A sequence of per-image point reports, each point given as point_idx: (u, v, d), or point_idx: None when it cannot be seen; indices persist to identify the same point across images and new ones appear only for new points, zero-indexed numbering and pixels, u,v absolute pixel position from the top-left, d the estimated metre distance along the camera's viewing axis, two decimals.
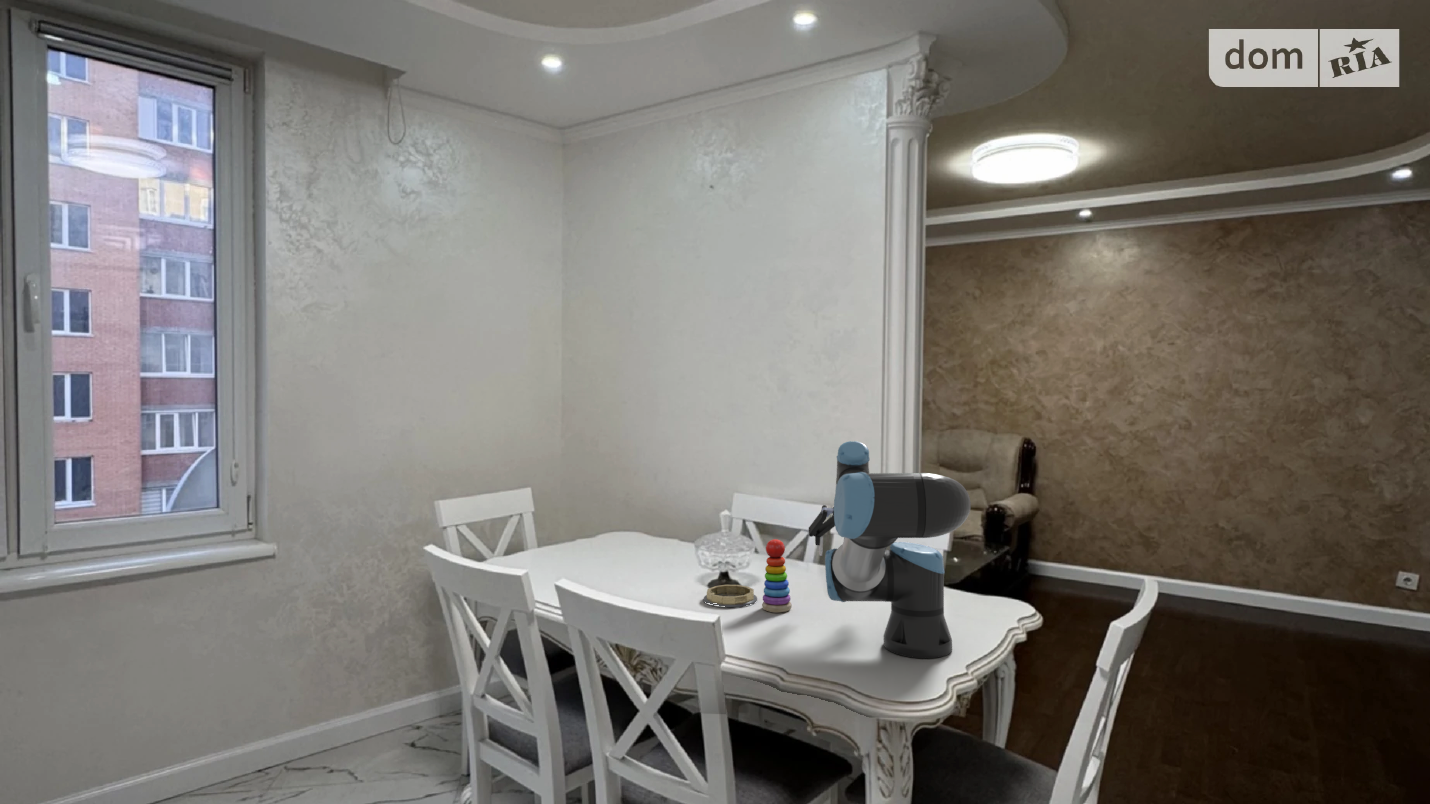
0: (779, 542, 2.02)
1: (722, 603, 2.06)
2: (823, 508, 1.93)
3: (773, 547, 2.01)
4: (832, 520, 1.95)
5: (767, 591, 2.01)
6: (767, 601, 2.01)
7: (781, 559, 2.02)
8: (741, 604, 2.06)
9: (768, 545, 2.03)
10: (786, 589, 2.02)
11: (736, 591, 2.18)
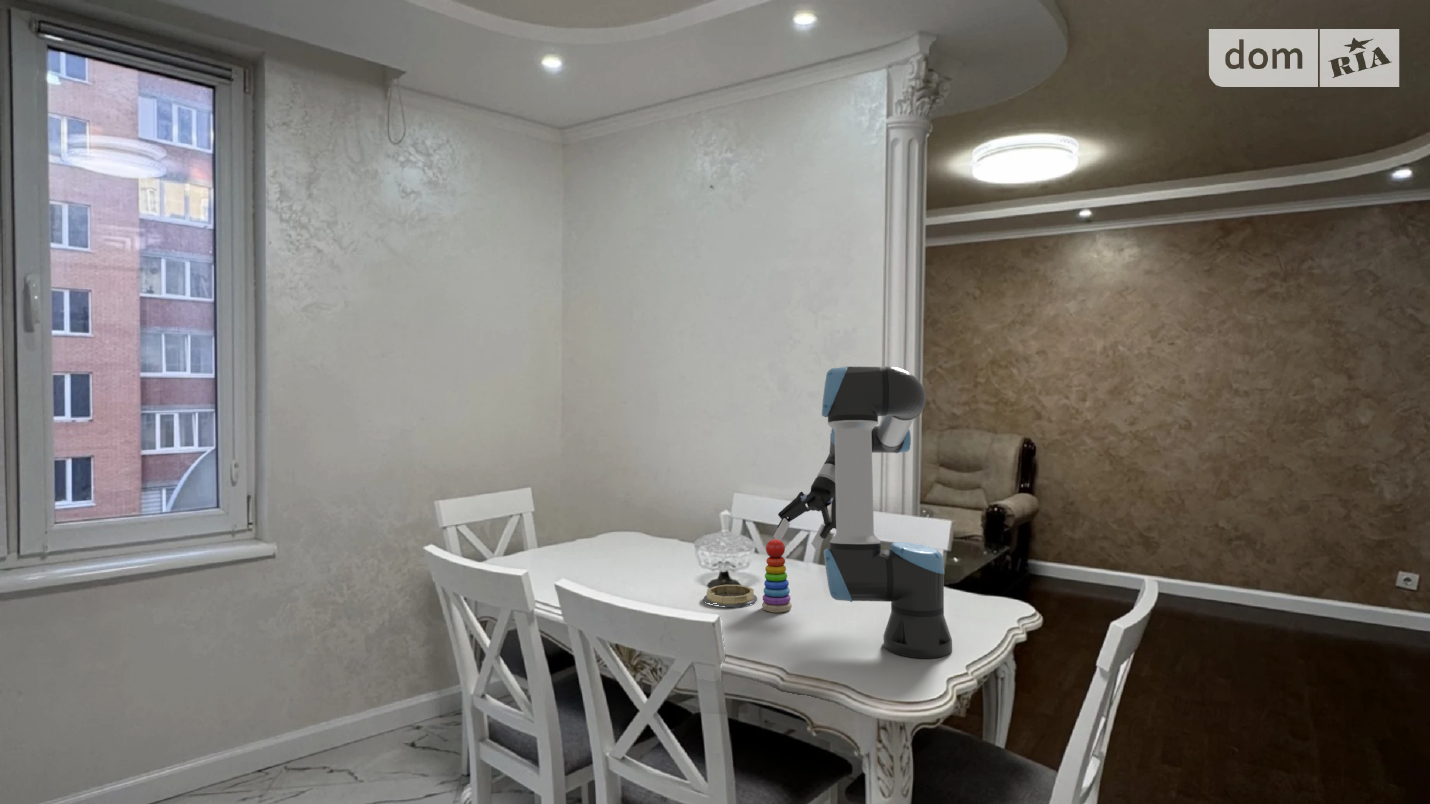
0: (779, 542, 2.02)
1: (722, 603, 2.06)
2: None
3: (773, 547, 2.01)
4: None
5: (767, 591, 2.01)
6: (767, 601, 2.01)
7: (781, 559, 2.02)
8: (741, 604, 2.06)
9: (768, 545, 2.03)
10: (786, 589, 2.02)
11: (736, 591, 2.18)
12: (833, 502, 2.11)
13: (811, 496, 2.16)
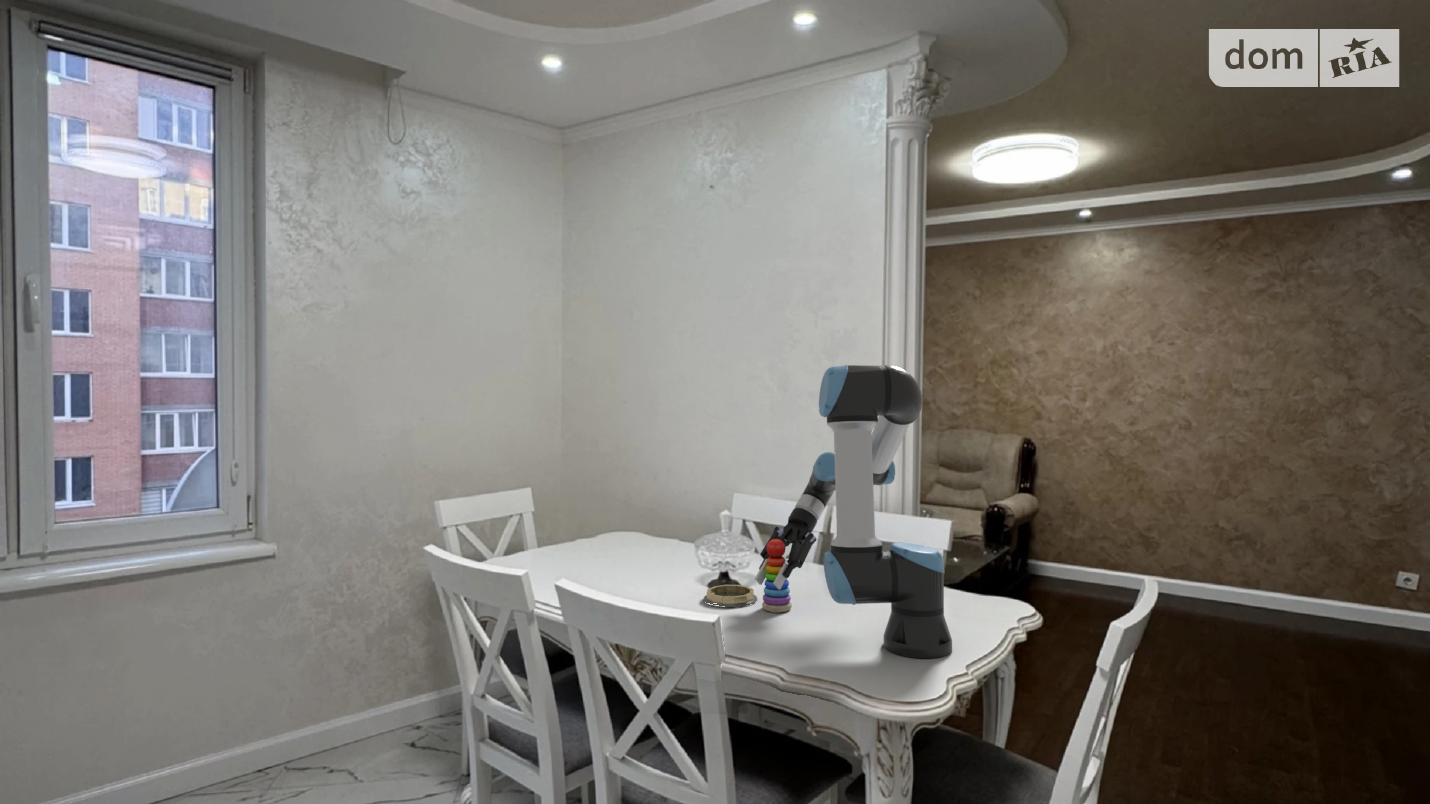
0: (780, 542, 2.02)
1: (722, 603, 2.06)
2: None
3: (773, 547, 2.01)
4: None
5: (768, 591, 2.01)
6: (767, 601, 2.01)
7: (781, 559, 2.02)
8: (741, 604, 2.06)
9: (769, 545, 2.02)
10: (786, 589, 2.02)
11: (736, 591, 2.18)
12: (806, 539, 2.04)
13: (788, 528, 2.09)
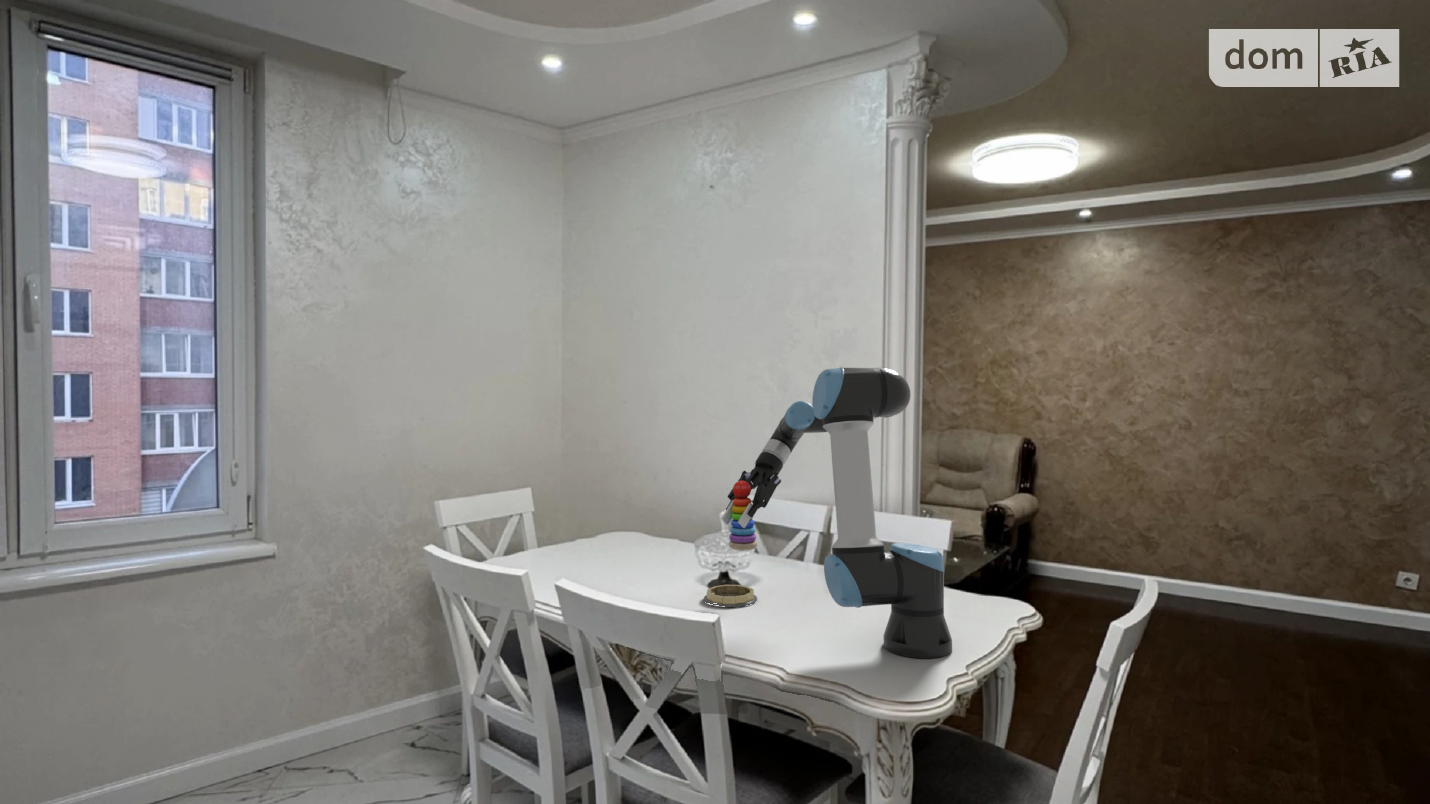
0: (745, 483, 2.10)
1: (722, 603, 2.06)
2: None
3: (739, 487, 2.09)
4: None
5: (733, 530, 2.09)
6: (733, 539, 2.08)
7: (746, 499, 2.09)
8: (741, 604, 2.06)
9: (735, 486, 2.10)
10: (752, 528, 2.09)
11: (736, 591, 2.18)
12: (771, 480, 2.11)
13: (755, 471, 2.16)
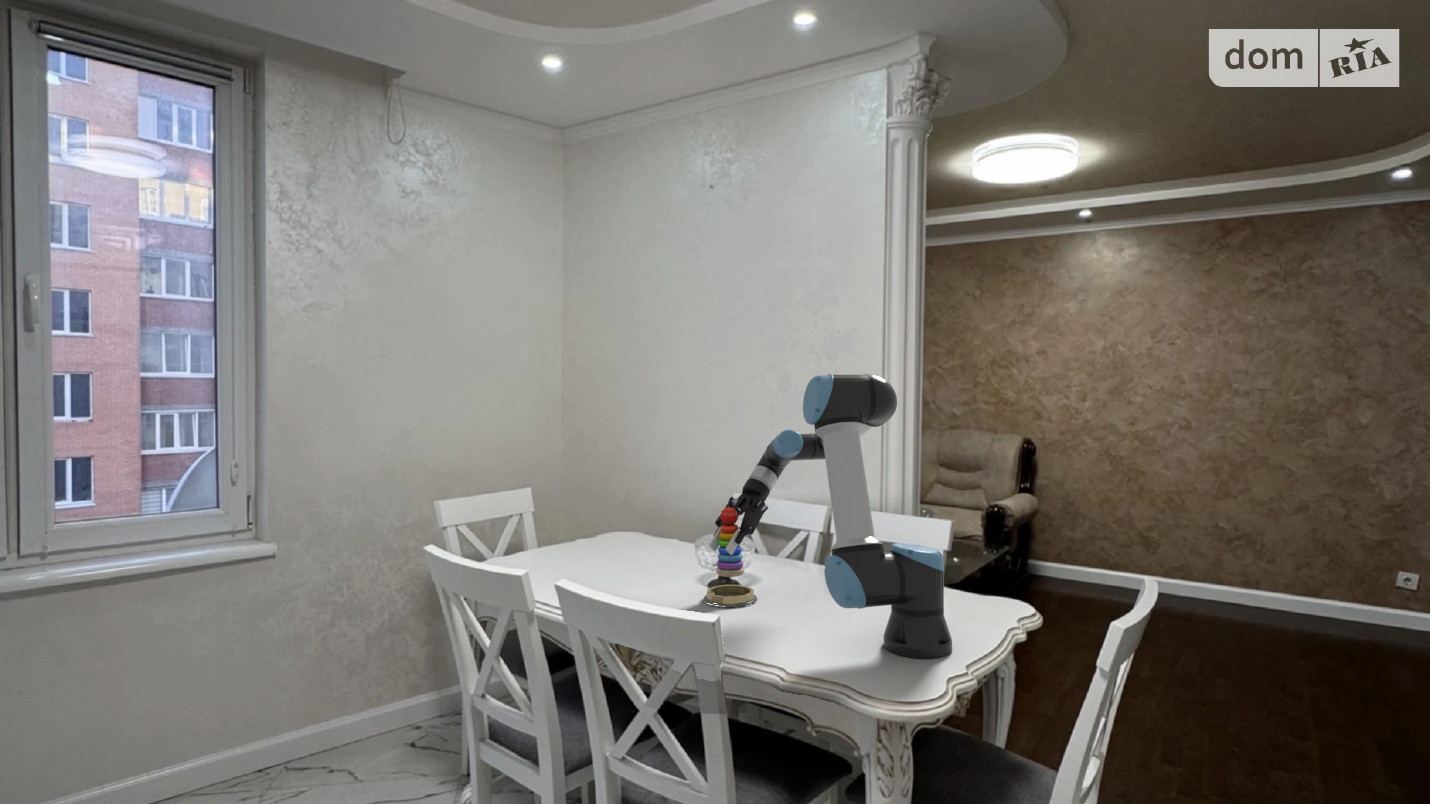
0: (732, 510, 2.11)
1: (722, 603, 2.06)
2: None
3: (726, 514, 2.10)
4: None
5: (721, 556, 2.11)
6: (720, 566, 2.10)
7: (734, 526, 2.11)
8: (741, 604, 2.06)
9: (722, 513, 2.12)
10: (739, 555, 2.11)
11: (736, 591, 2.18)
12: (758, 507, 2.13)
13: (742, 498, 2.18)
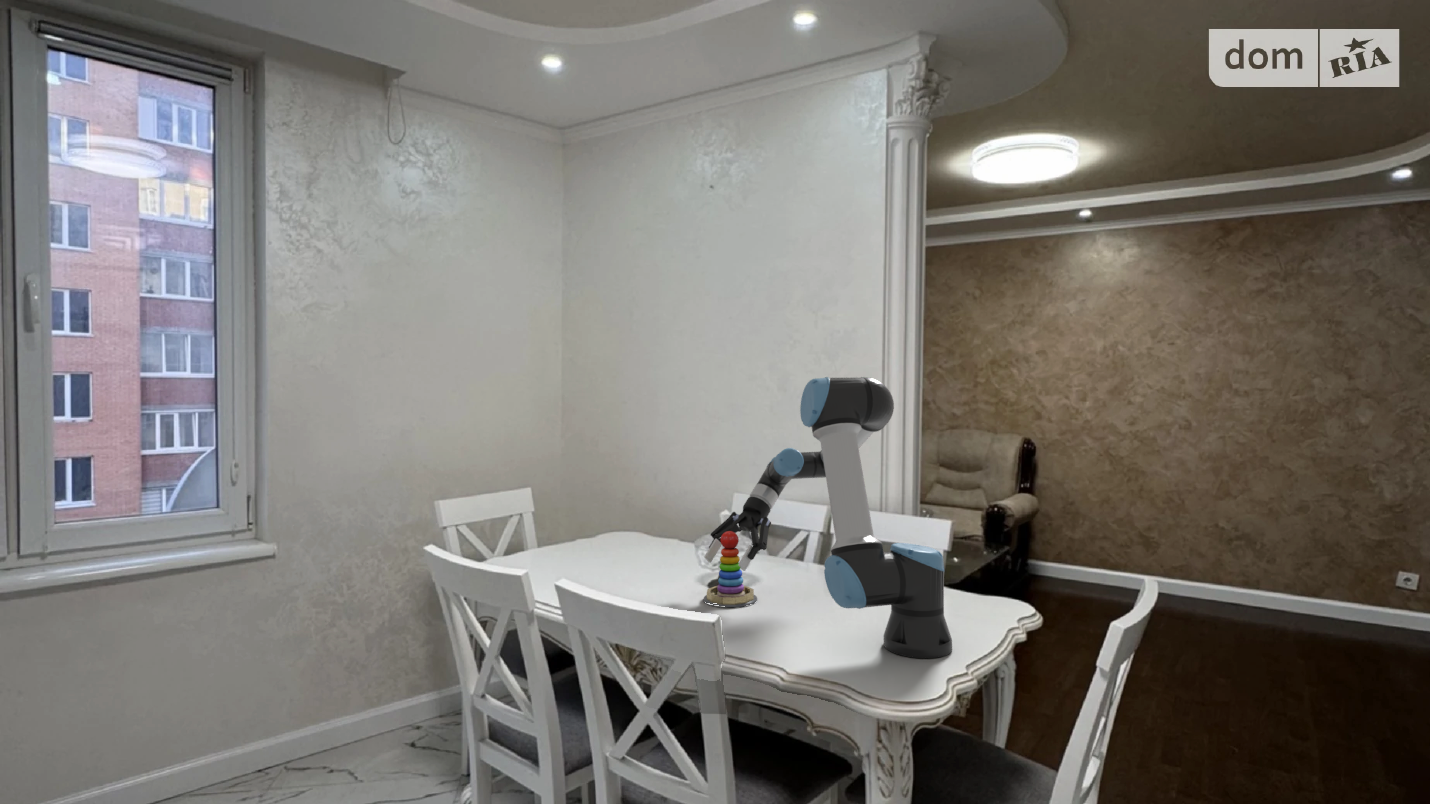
0: (733, 534, 2.11)
1: (722, 603, 2.06)
2: None
3: (727, 538, 2.10)
4: None
5: (721, 580, 2.10)
6: (721, 590, 2.10)
7: (734, 550, 2.11)
8: (741, 604, 2.06)
9: (722, 537, 2.11)
10: (739, 579, 2.11)
11: None
12: (762, 523, 2.12)
13: (742, 516, 2.18)
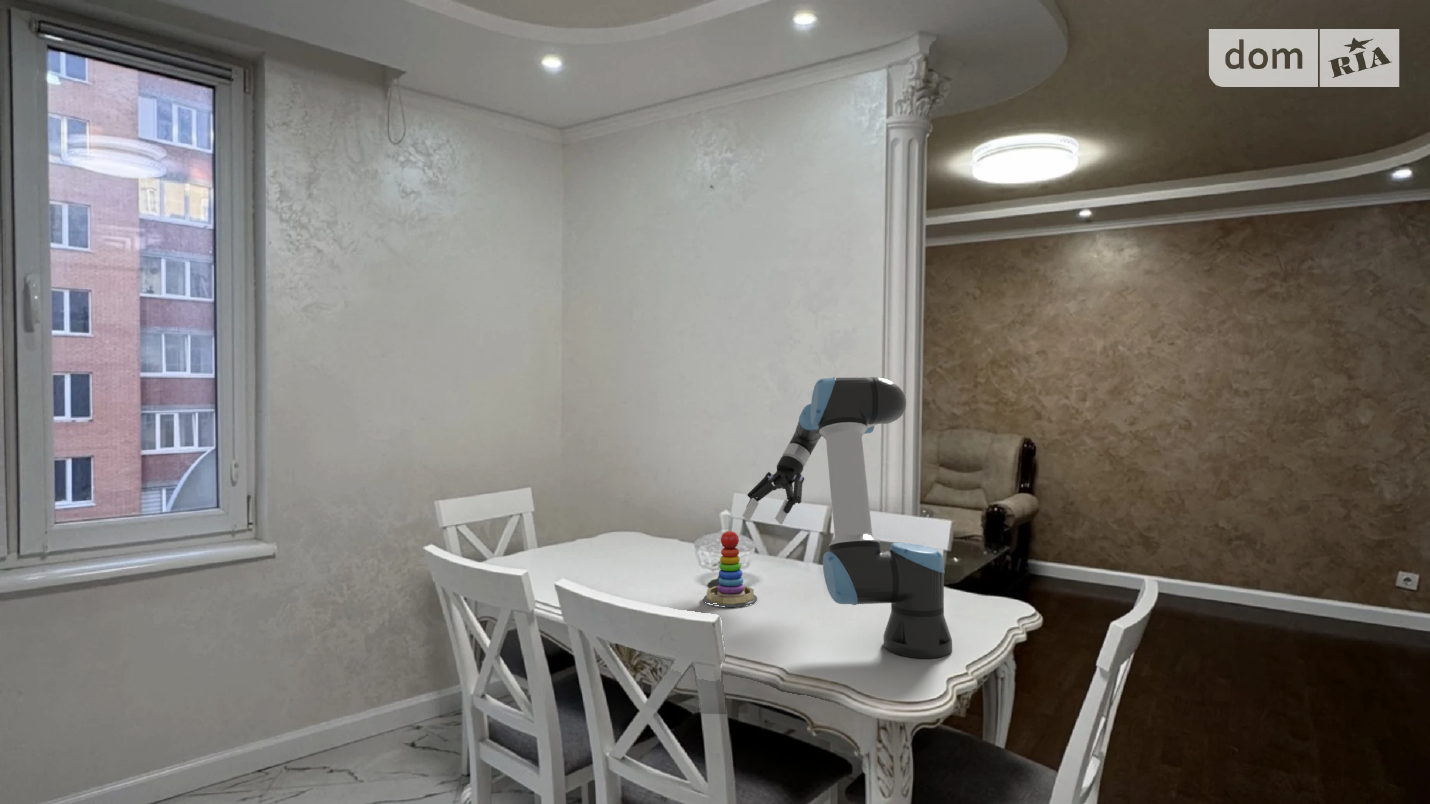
0: (733, 534, 2.11)
1: (722, 603, 2.06)
2: None
3: (727, 538, 2.10)
4: None
5: (721, 580, 2.10)
6: (721, 590, 2.10)
7: (734, 550, 2.11)
8: (741, 604, 2.06)
9: (722, 537, 2.11)
10: (739, 579, 2.11)
11: None
12: (796, 478, 2.20)
13: (776, 475, 2.26)
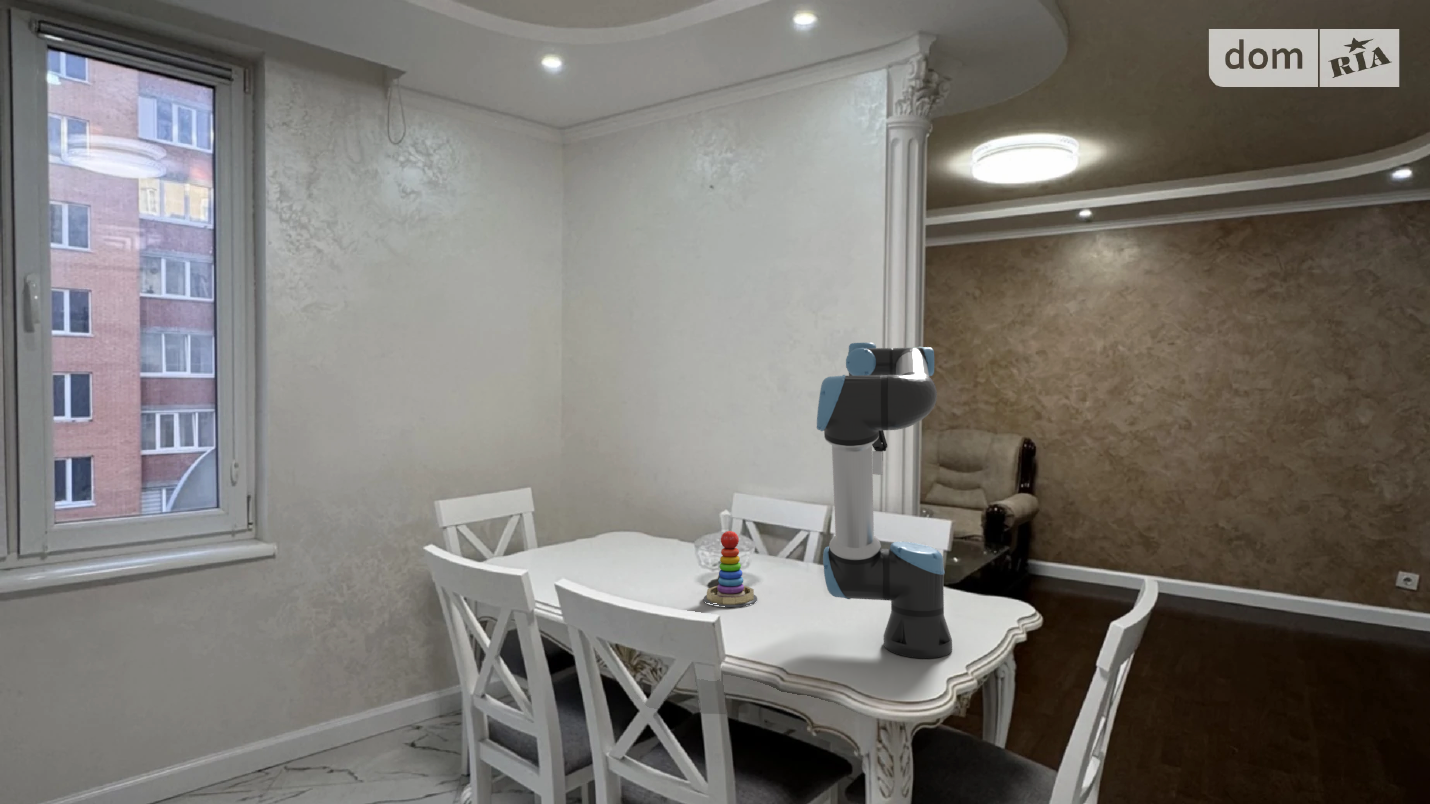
0: (733, 534, 2.11)
1: (722, 603, 2.06)
2: None
3: (727, 538, 2.10)
4: None
5: (721, 580, 2.10)
6: (721, 590, 2.10)
7: (734, 550, 2.11)
8: (741, 604, 2.06)
9: (722, 536, 2.11)
10: (739, 579, 2.11)
11: None
12: None
13: None
